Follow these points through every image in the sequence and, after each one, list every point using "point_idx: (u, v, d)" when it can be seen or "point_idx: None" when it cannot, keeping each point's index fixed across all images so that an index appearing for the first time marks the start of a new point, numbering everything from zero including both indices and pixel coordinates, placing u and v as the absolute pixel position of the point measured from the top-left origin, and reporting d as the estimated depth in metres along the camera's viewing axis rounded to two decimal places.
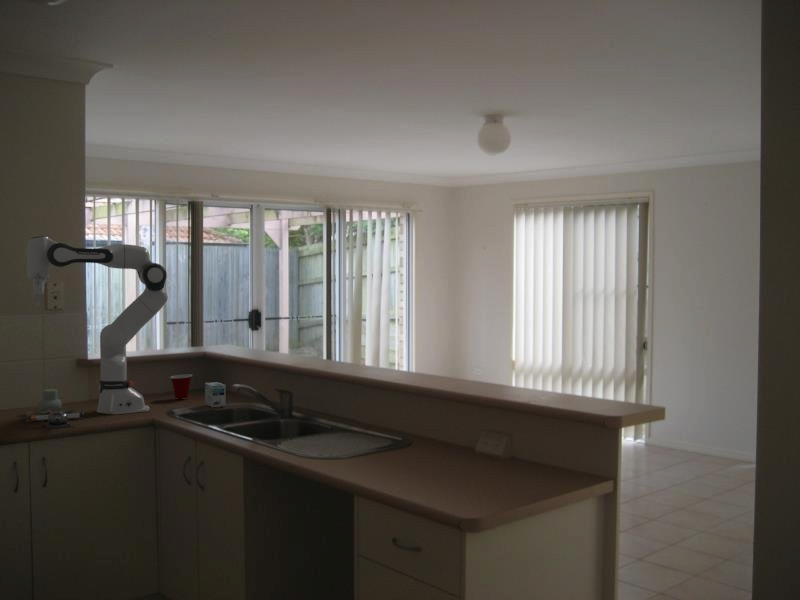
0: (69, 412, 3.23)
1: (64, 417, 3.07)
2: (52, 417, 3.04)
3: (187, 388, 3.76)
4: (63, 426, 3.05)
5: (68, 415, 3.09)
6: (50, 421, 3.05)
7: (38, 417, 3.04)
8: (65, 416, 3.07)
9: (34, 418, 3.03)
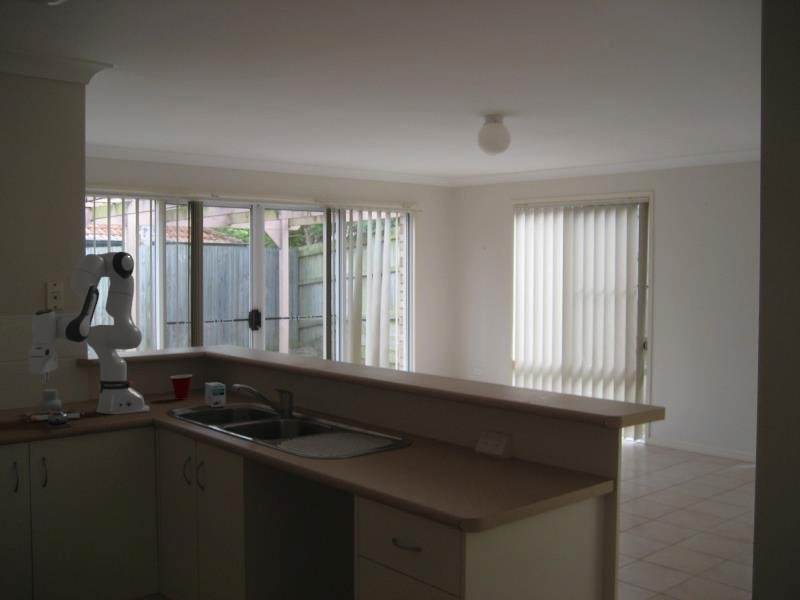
0: (69, 412, 3.23)
1: (64, 417, 3.07)
2: (52, 417, 3.04)
3: (187, 388, 3.76)
4: (63, 426, 3.05)
5: (68, 415, 3.09)
6: (50, 421, 3.05)
7: (38, 417, 3.04)
8: (65, 416, 3.07)
9: (34, 418, 3.03)
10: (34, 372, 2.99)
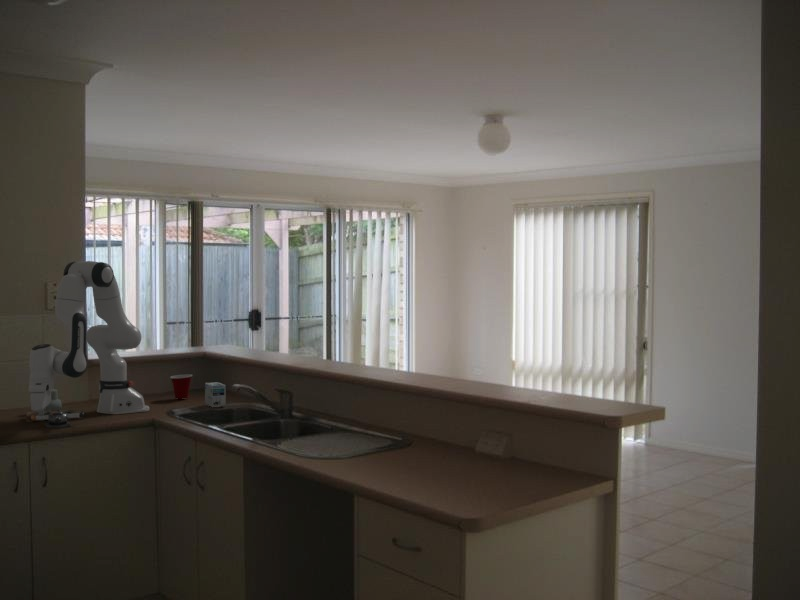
0: (69, 412, 3.23)
1: (64, 417, 3.07)
2: (52, 417, 3.04)
3: (187, 388, 3.76)
4: (63, 426, 3.05)
5: (68, 415, 3.09)
6: (50, 421, 3.05)
7: (38, 417, 3.04)
8: (65, 416, 3.07)
9: (34, 418, 3.03)
10: (36, 408, 2.97)
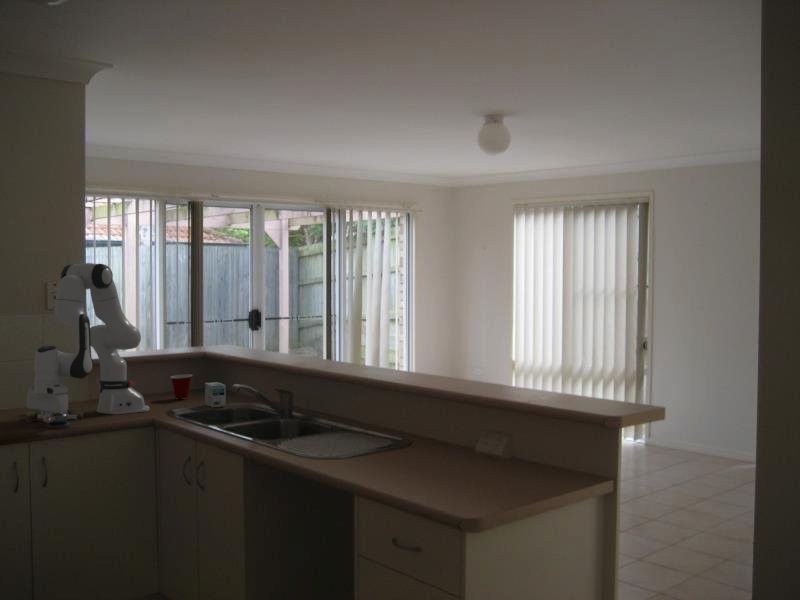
0: None
1: None
2: (62, 416, 3.06)
3: (187, 388, 3.76)
4: (63, 426, 3.05)
5: None
6: (60, 421, 3.05)
7: (51, 419, 3.01)
8: None
9: (50, 420, 2.99)
10: (64, 409, 2.97)
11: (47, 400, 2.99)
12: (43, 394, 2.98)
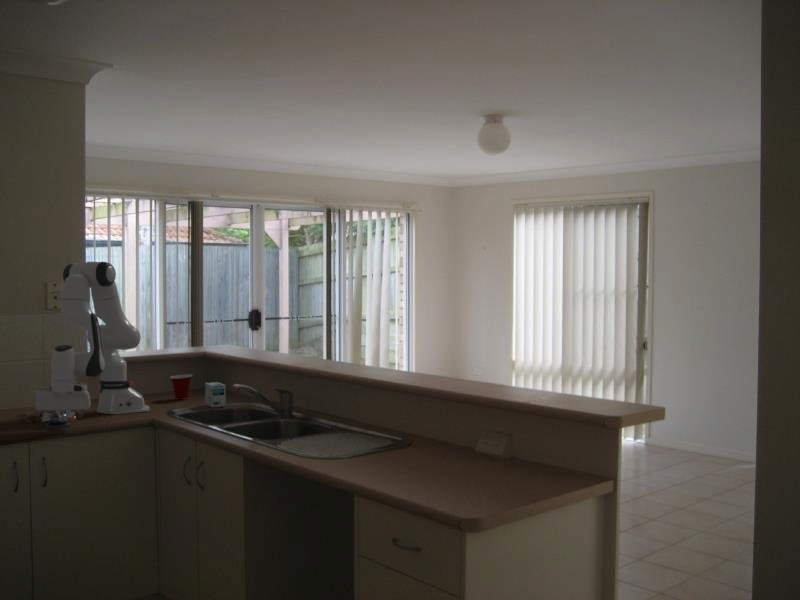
0: None
1: None
2: None
3: (187, 388, 3.76)
4: (63, 426, 3.05)
5: None
6: None
7: None
8: None
9: None
10: (90, 405, 3.05)
11: (68, 398, 3.02)
12: (66, 393, 3.00)
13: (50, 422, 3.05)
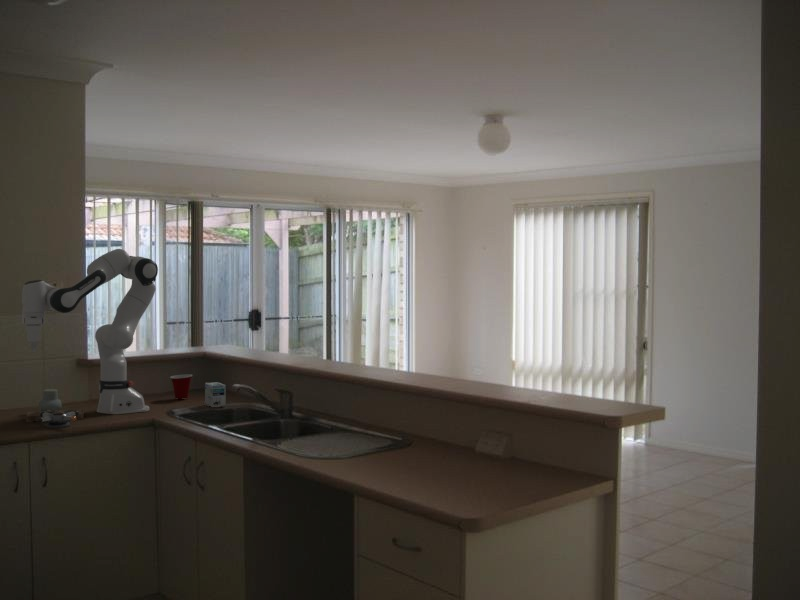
0: None
1: None
2: None
3: (187, 388, 3.76)
4: (63, 426, 3.05)
5: None
6: (67, 419, 3.09)
7: None
8: None
9: None
10: (33, 340, 3.05)
11: None
12: None
13: (50, 422, 3.05)
